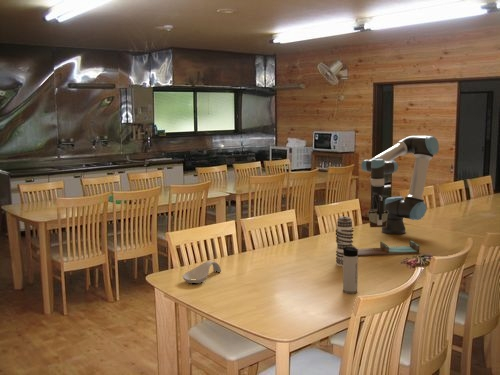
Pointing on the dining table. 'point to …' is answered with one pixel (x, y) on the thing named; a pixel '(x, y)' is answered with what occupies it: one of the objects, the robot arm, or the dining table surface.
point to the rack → (389, 250)
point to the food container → (374, 218)
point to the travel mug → (350, 270)
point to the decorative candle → (343, 237)
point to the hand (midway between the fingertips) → (377, 223)
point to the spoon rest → (200, 272)
